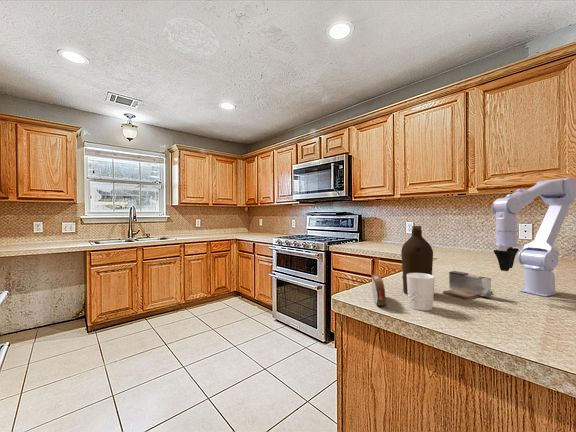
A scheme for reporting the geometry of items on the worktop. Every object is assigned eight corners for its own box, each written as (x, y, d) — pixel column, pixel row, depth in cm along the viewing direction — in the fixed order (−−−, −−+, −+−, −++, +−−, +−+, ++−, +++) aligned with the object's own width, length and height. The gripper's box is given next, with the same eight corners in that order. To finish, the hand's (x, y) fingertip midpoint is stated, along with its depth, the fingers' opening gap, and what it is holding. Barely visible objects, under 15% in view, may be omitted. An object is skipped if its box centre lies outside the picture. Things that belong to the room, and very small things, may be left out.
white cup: (432, 304, 86) (431, 273, 86) (437, 313, 78) (436, 279, 78) (405, 302, 88) (405, 272, 88) (408, 310, 81) (407, 277, 81)
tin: (386, 309, 81) (386, 282, 81) (375, 309, 82) (375, 281, 82) (379, 295, 96) (379, 272, 96) (370, 294, 97) (370, 271, 97)
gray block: (454, 287, 103) (454, 270, 103) (492, 295, 92) (492, 277, 92) (449, 288, 101) (449, 271, 101) (488, 297, 90) (488, 278, 90)
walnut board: (469, 288, 104) (469, 286, 104) (492, 293, 97) (492, 291, 97) (442, 293, 97) (442, 291, 97) (465, 299, 90) (465, 297, 90)
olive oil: (440, 296, 94) (439, 226, 94) (413, 298, 92) (412, 226, 92) (420, 288, 104) (420, 225, 104) (395, 290, 102) (395, 225, 102)
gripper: (518, 232, 87) (518, 274, 87) (523, 230, 96) (524, 268, 96) (491, 231, 92) (491, 270, 92) (499, 230, 102) (499, 265, 102)
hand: (506, 269), depth 95 cm, fingers open, 7 cm apart
